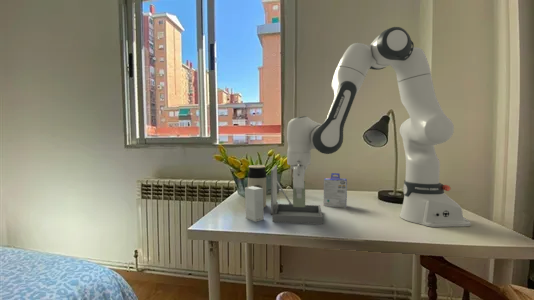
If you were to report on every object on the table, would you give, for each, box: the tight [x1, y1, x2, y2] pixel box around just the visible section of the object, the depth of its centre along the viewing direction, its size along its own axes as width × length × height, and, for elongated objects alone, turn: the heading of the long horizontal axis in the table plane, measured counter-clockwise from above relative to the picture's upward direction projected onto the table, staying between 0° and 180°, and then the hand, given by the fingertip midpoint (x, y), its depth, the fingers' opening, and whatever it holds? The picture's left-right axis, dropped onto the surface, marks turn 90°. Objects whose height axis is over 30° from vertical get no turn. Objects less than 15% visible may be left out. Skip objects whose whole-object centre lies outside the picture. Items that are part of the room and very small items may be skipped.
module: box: [292, 180, 306, 207], centre depth 104 cm, size 4×4×10 cm
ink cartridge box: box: [323, 172, 348, 209], centre depth 121 cm, size 10×6×14 cm, turn 75°
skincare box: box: [244, 186, 265, 222], centre depth 101 cm, size 6×4×12 cm
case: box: [270, 164, 324, 225], centre depth 104 cm, size 18×17×19 cm
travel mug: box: [247, 164, 267, 208], centre depth 119 cm, size 8×8×18 cm
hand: (299, 196), depth 104 cm, fingers closed on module, 4 cm apart
